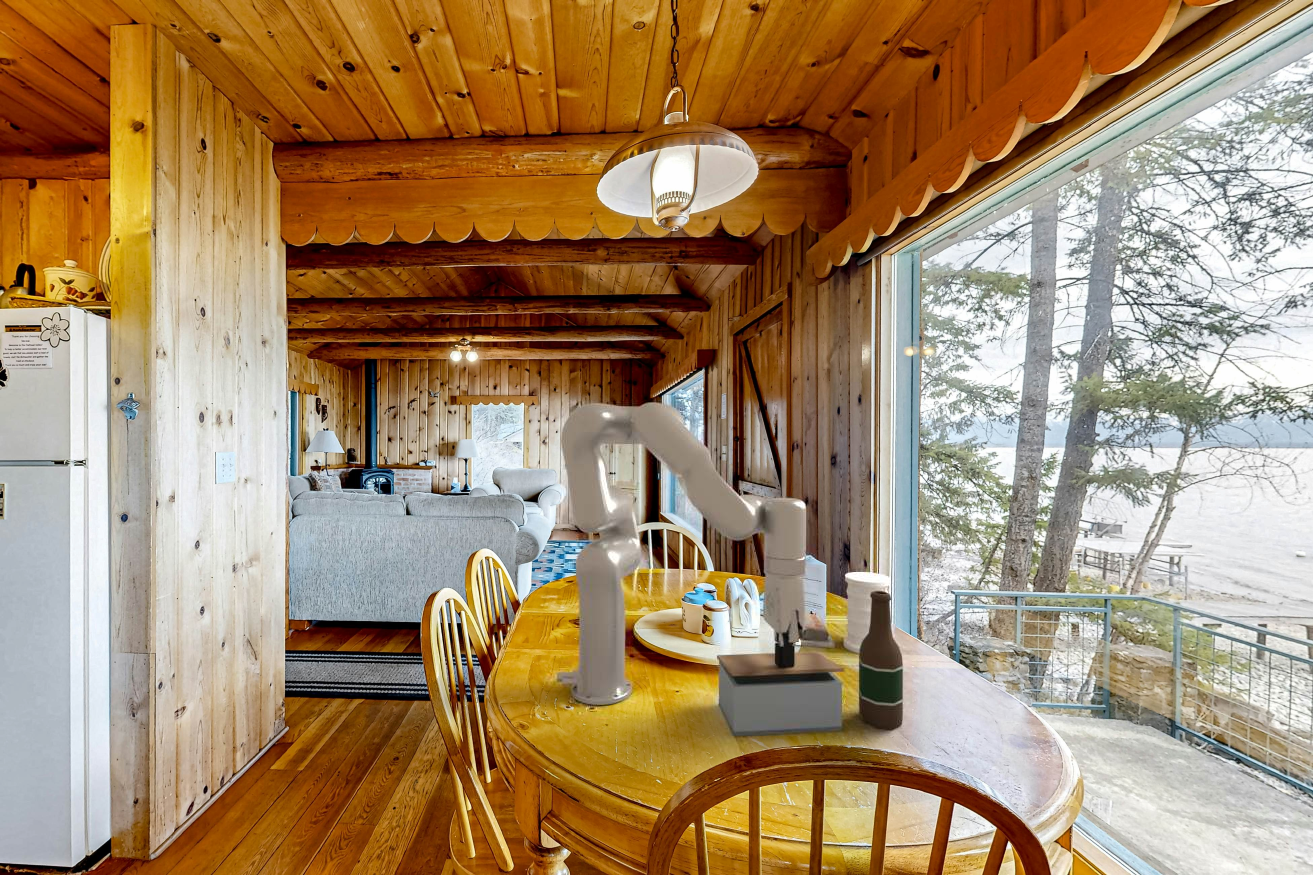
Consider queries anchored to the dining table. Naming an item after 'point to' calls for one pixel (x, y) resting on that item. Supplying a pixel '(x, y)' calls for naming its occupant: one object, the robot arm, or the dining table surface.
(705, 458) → the robot arm
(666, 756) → the dining table surface
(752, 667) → the lid
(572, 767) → the dining table surface
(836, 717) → the crate
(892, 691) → the beer bottle
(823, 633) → the packaged product
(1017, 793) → the dining table surface
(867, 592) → the decorative container
